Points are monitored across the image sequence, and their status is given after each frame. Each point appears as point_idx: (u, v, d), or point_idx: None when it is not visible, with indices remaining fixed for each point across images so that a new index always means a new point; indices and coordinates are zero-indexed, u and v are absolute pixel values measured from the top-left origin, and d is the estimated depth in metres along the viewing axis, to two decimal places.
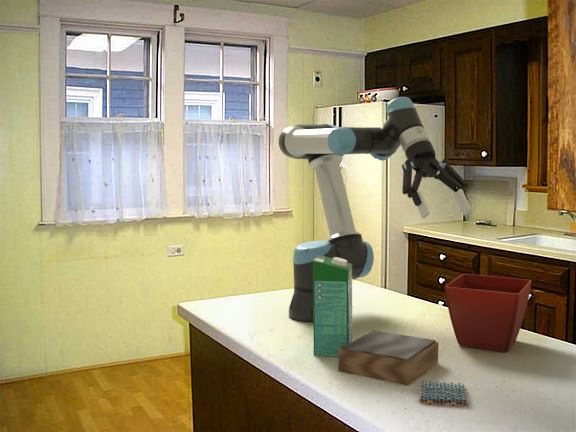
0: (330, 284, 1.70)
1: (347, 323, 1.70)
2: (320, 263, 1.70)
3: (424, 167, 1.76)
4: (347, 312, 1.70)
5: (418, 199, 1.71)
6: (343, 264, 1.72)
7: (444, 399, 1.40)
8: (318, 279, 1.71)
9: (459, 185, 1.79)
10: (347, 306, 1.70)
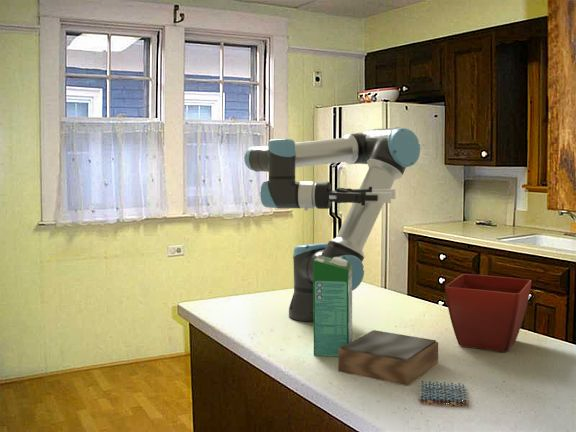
0: (330, 284, 1.70)
1: (347, 323, 1.70)
2: (320, 263, 1.70)
3: None
4: (347, 312, 1.70)
5: None
6: (343, 264, 1.72)
7: (444, 399, 1.40)
8: (318, 279, 1.71)
9: None
10: (347, 306, 1.70)
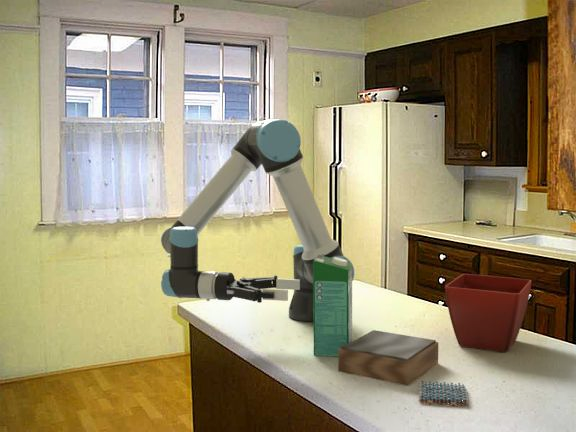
0: (330, 284, 1.70)
1: (347, 323, 1.70)
2: (320, 263, 1.70)
3: None
4: (347, 312, 1.70)
5: None
6: (343, 264, 1.72)
7: (444, 399, 1.40)
8: (318, 279, 1.71)
9: None
10: (347, 306, 1.70)
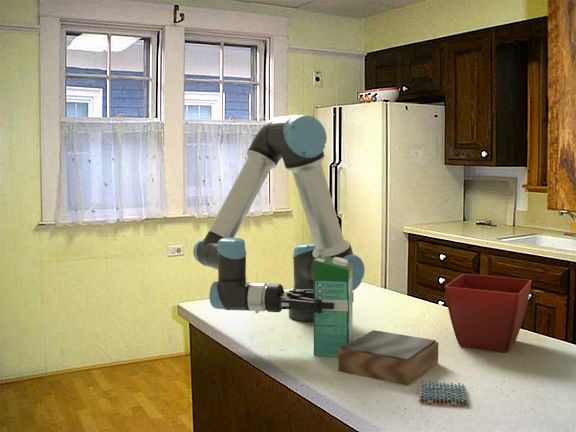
0: (330, 284, 1.70)
1: (347, 323, 1.70)
2: (320, 263, 1.70)
3: None
4: (347, 312, 1.70)
5: None
6: (343, 264, 1.72)
7: (444, 399, 1.40)
8: (318, 279, 1.70)
9: None
10: None
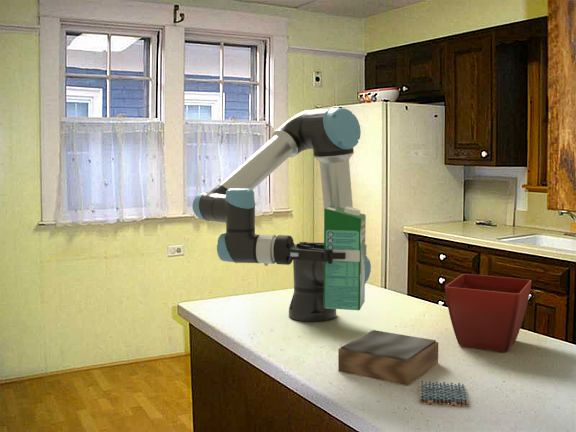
0: (342, 233, 1.63)
1: (359, 274, 1.63)
2: (331, 211, 1.63)
3: None
4: (359, 263, 1.63)
5: None
6: (356, 213, 1.64)
7: (444, 399, 1.40)
8: (329, 228, 1.63)
9: None
10: None
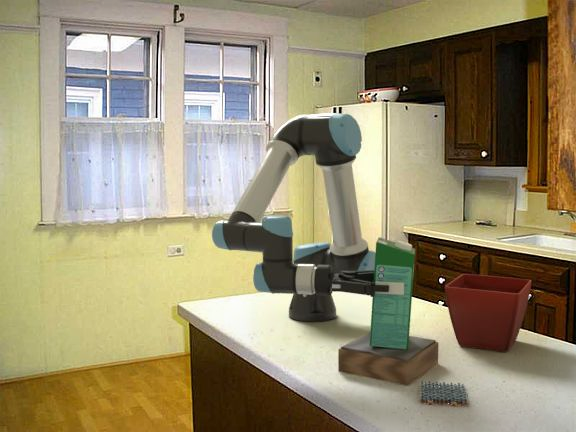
0: (394, 268, 1.56)
1: (409, 312, 1.56)
2: (384, 245, 1.56)
3: None
4: (410, 300, 1.56)
5: None
6: (408, 248, 1.58)
7: (444, 399, 1.40)
8: (380, 262, 1.56)
9: None
10: (410, 294, 1.56)
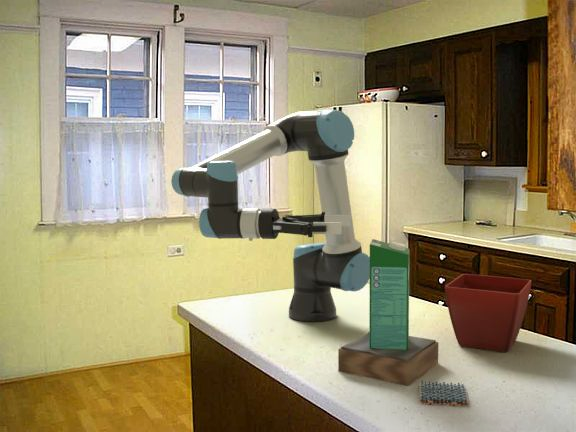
0: (389, 270, 1.56)
1: (407, 313, 1.56)
2: (377, 247, 1.56)
3: None
4: (407, 301, 1.56)
5: None
6: (402, 249, 1.58)
7: (445, 399, 1.40)
8: (375, 264, 1.56)
9: None
10: (407, 294, 1.56)
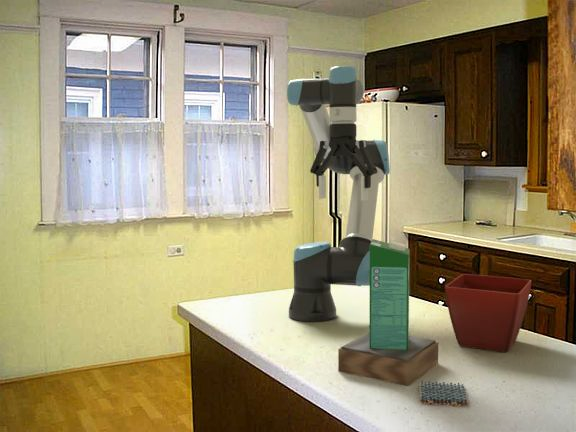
0: (389, 270, 1.56)
1: (407, 313, 1.56)
2: (378, 247, 1.56)
3: (332, 151, 1.87)
4: (407, 301, 1.56)
5: (318, 182, 1.92)
6: (402, 249, 1.58)
7: (445, 399, 1.40)
8: (375, 264, 1.56)
9: (363, 172, 1.83)
10: (407, 294, 1.56)
